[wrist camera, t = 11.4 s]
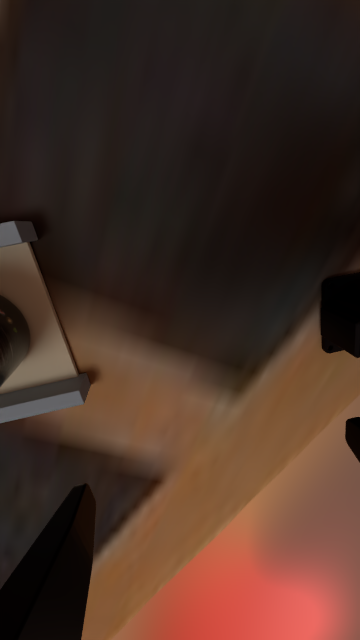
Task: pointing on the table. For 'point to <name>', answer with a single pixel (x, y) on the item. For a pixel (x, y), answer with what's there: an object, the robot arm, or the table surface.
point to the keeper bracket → (35, 335)
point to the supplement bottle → (12, 338)
